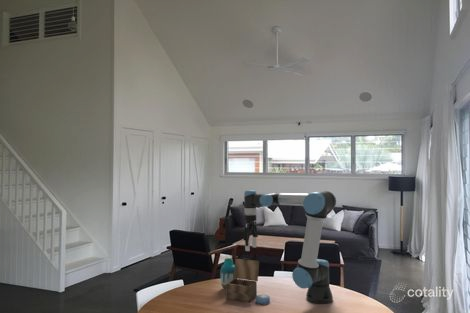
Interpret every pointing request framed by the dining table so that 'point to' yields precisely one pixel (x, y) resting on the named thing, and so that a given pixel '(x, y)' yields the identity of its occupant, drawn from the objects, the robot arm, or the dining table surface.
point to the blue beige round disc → (262, 299)
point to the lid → (246, 269)
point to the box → (241, 290)
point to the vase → (227, 272)
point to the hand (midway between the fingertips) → (251, 249)
